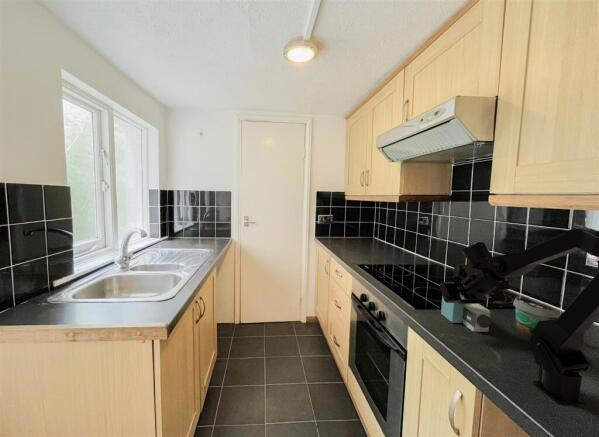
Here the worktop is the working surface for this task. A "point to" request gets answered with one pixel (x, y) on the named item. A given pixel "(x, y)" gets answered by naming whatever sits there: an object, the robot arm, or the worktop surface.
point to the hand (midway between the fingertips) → (459, 302)
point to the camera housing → (476, 317)
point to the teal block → (452, 311)
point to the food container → (531, 315)
